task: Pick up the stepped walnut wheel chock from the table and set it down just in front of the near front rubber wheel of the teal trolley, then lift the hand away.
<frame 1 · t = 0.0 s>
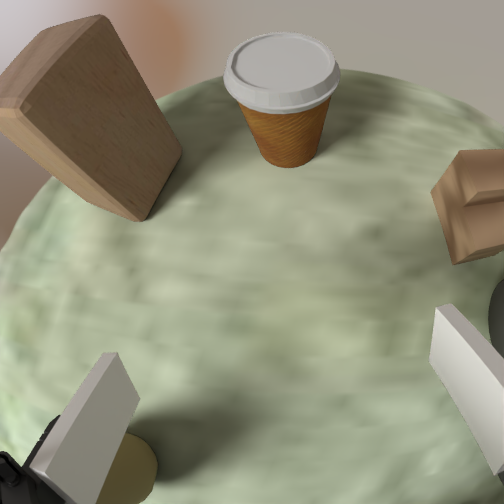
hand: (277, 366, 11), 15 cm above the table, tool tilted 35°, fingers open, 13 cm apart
chock: (463, 223, 27), on the table
disposable coffee cup: (288, 145, 32), on the table
block: (134, 177, 34), on the table
squeeze bottle: (134, 457, 25), on the table
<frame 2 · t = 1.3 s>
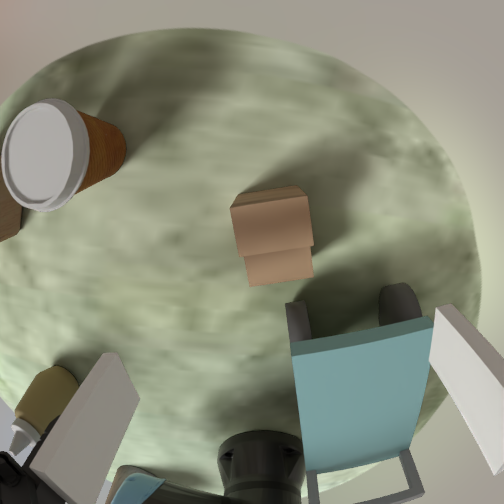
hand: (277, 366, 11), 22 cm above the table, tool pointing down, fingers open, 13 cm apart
pillar candle: (139, 476, 50), on the table
chock: (273, 227, 32), on the table
disposable coffee cup: (102, 150, 30), on the table
block: (4, 190, 32), on the table
trolley: (344, 357, 37), on the table
squeeze bottle: (65, 378, 41), on the table
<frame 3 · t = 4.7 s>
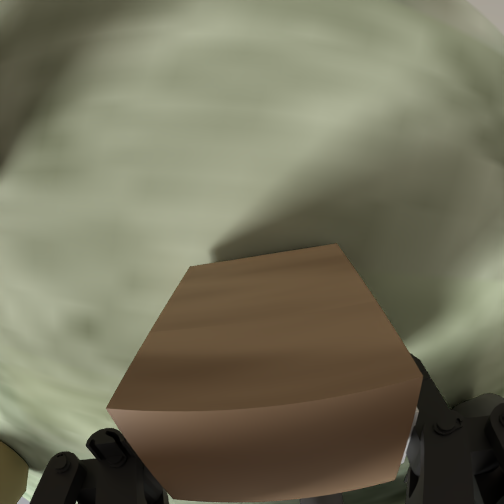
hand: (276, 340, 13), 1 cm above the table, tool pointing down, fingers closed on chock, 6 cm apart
chock: (277, 338, 14), point 1 cm above the table, touching gripper
trolley: (381, 476, 19), on the table
squeeze bottle: (12, 452, 24), on the table
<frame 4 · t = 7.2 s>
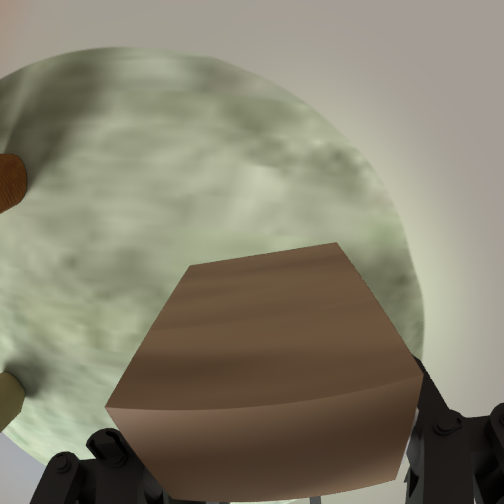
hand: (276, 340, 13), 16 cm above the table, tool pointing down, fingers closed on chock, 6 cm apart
chock: (277, 338, 14), point 16 cm above the table, touching gripper
disposable coffee cup: (11, 179, 28), on the table
squeeze bottle: (14, 383, 39), on the table
when the fingers open (2 cm above the table, at t = 10.0 s): chock drops 2 cm, on the table.
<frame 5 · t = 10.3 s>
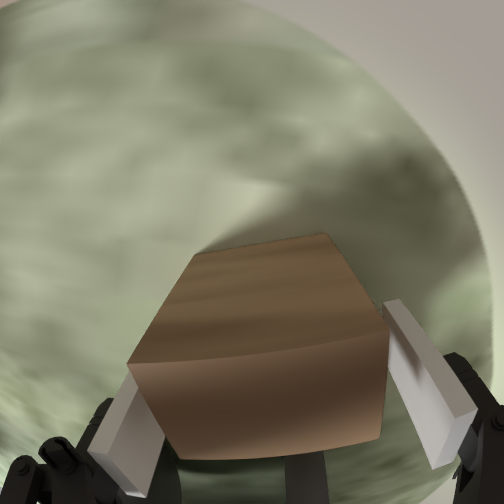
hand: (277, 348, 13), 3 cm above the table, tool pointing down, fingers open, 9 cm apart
chock: (273, 320, 15), on the table
trolley: (245, 489, 21), on the table
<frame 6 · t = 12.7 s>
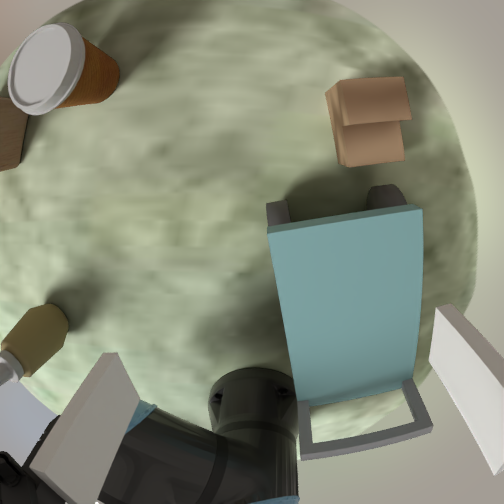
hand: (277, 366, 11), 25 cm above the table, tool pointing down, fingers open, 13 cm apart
chock: (357, 124, 31), on the table
disposable coffee cup: (98, 79, 30), on the table
block: (8, 130, 32), on the table
trolley: (336, 276, 37), on the table
squeeze bottle: (56, 317, 43), on the table
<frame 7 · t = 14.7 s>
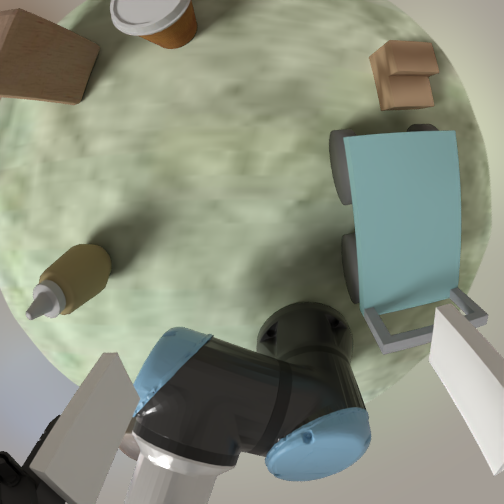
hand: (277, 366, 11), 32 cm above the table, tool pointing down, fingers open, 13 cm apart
pillar candle: (162, 397, 54), on the table
chock: (394, 82, 35), on the table
disposable coffee cup: (175, 30, 34), on the table
block: (69, 72, 36), on the table
trolley: (381, 206, 41), on the table
squeeze bottle: (97, 261, 45), on the table
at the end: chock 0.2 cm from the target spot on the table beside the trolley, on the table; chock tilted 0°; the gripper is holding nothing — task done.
